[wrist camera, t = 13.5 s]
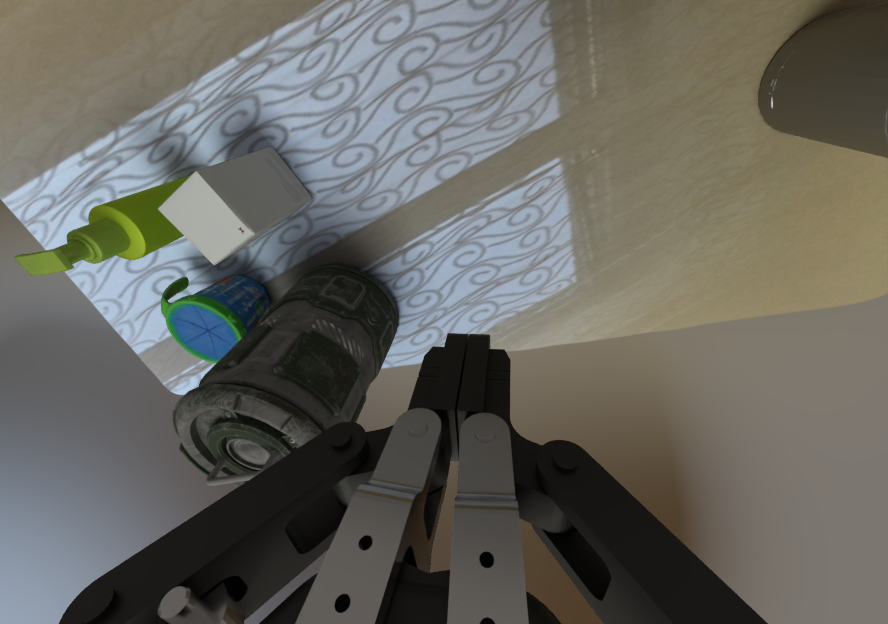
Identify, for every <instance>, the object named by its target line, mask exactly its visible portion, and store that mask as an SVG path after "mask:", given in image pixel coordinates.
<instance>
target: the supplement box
mask: <svg viewBox="0 0 888 624" xmlns="http://www.w3.org/2000/svg"><path fill="white" fill-rule="evenodd" d="M311 199H312V197H311V196H310V194H309V193H308V192H307V190H306V189H305V188H304V186H303V185H302V184H301V183H300V181H299V180H298V179H297V177H296V176H295V175H294V174H293V172H292V171H291V170H290V168H289V167H288V166H287V165H286V163H285V162H284V161H283V159H282V158H281V157H280V156H279V154H278V153H277V152H276V151H275V149H274V148H273V147H267V148H264V149H261V150H258V151H255V152H252V153H249V154H246V155H243V156H240V157H237V158H234V159H231V160H228V161H225V162H222V163H219V164H216V165H213V166H210V167H206V168H203V169H200V170H197V171H195V172H194V173H193V174H192V175H191V176H190V177H189V178H188V179H187V180H186V181H185V182H184V183H183V184H182V185H181V186H180V187H179V188H178V189H177V190H176V191H175V192H174V193H173V194H172V195H171V196H170V197H169V198H168V199H167V200H166V201H165V202H164V203H163V204H162V205H161V206H160V207H159V208H158V210H159V211H160V212H161V213H162V214H163V215H164V216H165V217H166V218H167V219H168V220H169V221H170V222H171V223H172V224H173V225H174V226H175V227H176V228H177V229H178V230H179V231H180V232H181V233H182V234H183V235H184V236H185V237H186V238H187V239H188V240H189V241H190V242H191V243H192V244H193V245H194V246H195V247H196V248H197V249H198V250H199V251H200V252H201V253H202V254H203V255H204V256H205V257H206V258H207V259H208V260H209V261H210V262H211V263H212V264H213V265H216V264H218V263H219V262H221V261H223V260H224V259H226V258H228V257H229V256H231V255H232V254H234V253H235V252H237V251H238V250H240V249H241V248H243V247H244V246H246V245H247V244H249V243H250V242H252V241H253V240H255V239H256V238H258V237H259V236H261V235H262V234H264V233H265V232H267V231H268V230H270V229H271V228H273V227H275V226H276V225H278V224H279V223H281V222H282V221H284V220H285V219H287V218H288V217H289V216H291V215H292V214H293V213H295V212H296V211H297V210H298V209H300V208H301V207H302V206H303V205H305V204H306V203H307V202H308V201H310V200H311Z"/></svg>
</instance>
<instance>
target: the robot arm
mask: <svg viewBox="0 0 888 624" xmlns="http://www.w3.org/2000/svg"><path fill="white" fill-rule="evenodd" d="M759 108H760V112H761V115H762V117H763V118H764V120H765V122H766V123H767V124H768V125H770V126H771V127H772V128H773V129H775V130H778V131H780V132H783V133H787V134H791V135H795V136H799V137H804V138H807V139H811V140H815V141H819V142H824V143H828V144H832V145H836V146H840V147H844V148H848V149H853V150H857V151H861V152H865V153H869V154H873V155H878V156H882V157H886V158H888V2H887V3H880V4H874V5H869V6H863V7H857V8H851V9H846V10H841V11H838V12H834V13H831V14H827V15H825V16H823V17H821V18H819V19H817V20H815V21H813V22H811V23H810V24H808V25H807V26H806V27H804V28H803V29H801V30H800V31H798V32H797V33H796V34H795V35H794V36H793V37H792V38H791V39H789V40H788V41H787V42H786V43H785V44H784V46H783V47H782V48H781V49H780V50H779V51H778V53H777V54H776V55H775V57H774V58H773V60H772V61H771V63H770V64H769V66H768V68H767V70H766V72H765V74H764V77H763V79H762V82H761V86H760V90H759ZM450 461H459V463H458V482H457V496H456V498H455V502H454V516H453V533H452V551H451V567H450V570H446V571H439V572H433V573H430V569H431V558H432V548H433V542H434V538H435V534H436V530H437V526H438V521H439V517H440V513H441V509H442V504H443V501H444V496H445V492H446V488H447V477H448V473H449V466H450ZM519 518H521V519H523V520H525V521H527V522H529V523H531V524H532V526H533V528H534V530H535V532H536V533H537V535H538V536H539V537H540V539H541V540H542V541H543V543H544V544H545V545H546V547H547V548H548V549H549V551H550V552H551V553H552V555H553V556H554V557H555V559H556V560H557V561H558V563H559V564H560V565H561V567H562V568H563V570H564V571H565V572H566V573H567V575H568V576H569V577H570V579H571V580H572V582H573V583H574V584H575V586H576V587H577V588H578V590H579V591H580V592H581V594H582V595H583V596H584V598H585V599H586V600H587V602H588V603H589V604H590V606H591V607H592V608H593V610H594V611H595V612H596V614H597V615H598V616H599V618H600V619H601V620H602V622H603V623H604V624H768V623H766V622H765V621H764V620H763V619H762V618H761V617H760V616H759V615H758V614H757V613H756V612H755V611H754V610H753V609H752V608H751V607H750V606H749V605H747V604H746V603H745V602H744V601H743V600H742V599H741V598H740V597H739V596H738V595H737V594H736V593H735V592H734V591H732V589H731V588H729V587H728V586H727V585H726V584H725V583H724V582H723V581H722V580H721V579H720V578H719V577H718V576H717V575H716V574H715V573H714V572H713V571H712V570H710V569H709V568H708V567H707V566H706V565H705V564H704V563H703V562H702V561H701V560H700V559H699V558H698V557H697V556H696V555H695V554H694V553H692V552H691V551H690V550H689V549H688V548H687V547H686V546H685V545H684V544H683V543H682V542H681V541H680V540H679V539H678V538H677V537H676V536H674V534H672V533H671V532H670V531H669V530H668V529H667V528H666V527H665V526H664V525H663V524H662V523H661V522H659V520H657V518H656V517H655V516H653V515H652V514H651V513H650V512H649V511H648V510H647V509H646V508H645V507H644V506H643V505H642V504H641V503H640V502H639V501H638V500H637V499H636V498H634V497H633V496H632V495H631V494H630V493H629V492H628V491H627V490H626V489H625V488H624V487H623V486H622V485H621V484H620V483H618V481H616V480H615V479H614V478H613V477H612V476H611V475H610V474H609V473H608V472H607V471H606V470H605V469H604V468H603V467H602V466H601V465H600V464H599V463H597V462H596V461H595V460H594V459H593V458H592V457H591V456H590V455H589V454H588V453H587V452H586V451H585V450H584V449H582V448H581V447H580V446H578V445H576V444H574V443H572V442H569V441H565V440H554V441H550V442H548V443H546V444H544V445H543V446H542V445H539V444H537V443H534V442H531V441H529V440H527V439H525V438H523V437H522V436H520V435H519V434H518V433H517V432H516V431H515V429H514V428H513V426H512V424H511V421H510V359H509V357H508V355H507V353H506V352H505V350H501V349H490V335H484V334H470V335H468V334H455V333H448V335H447V338H446V343H445V347H432V348H431V349H430V350H429V352H428V353H427V354H426V355H425V356H424V359H423V362H422V366H421V369H420V372H419V377H418V379H417V382H416V385H415V389H414V392H413V395H412V398H411V401H410V405H409V408H408V410H407V412H405V413H403V414H402V415H401V416H399V418H398V419H397V420H396V422H395V424H394V425H393V426H390V427H388V428H385V429H380V430H375V431H370V432H365V430H364V428H363V427H362V426H361V425H359V424H357V423H354V422H341V423H338V424H335V425H333V426H331V427H330V428H328V429H327V430H325V431H324V432H322V433H320V434H319V435H317V436H316V437H314V438H313V439H311V440H310V441H308V442H307V443H305V444H304V445H302V446H301V447H299V448H297V449H296V450H294V451H293V452H291V453H290V454H288V455H287V456H285V457H284V458H282V459H281V460H279V461H278V462H276V463H274V464H273V465H271V466H270V467H268V468H267V469H265V470H264V471H262V472H261V473H259V474H258V475H256V476H255V477H253V478H251V479H250V480H248V481H247V482H245V483H244V484H242V485H241V486H239V487H238V488H236V489H235V490H233V491H232V492H230V493H228V494H227V495H225V496H224V497H222V498H221V499H220V500H218V501H216V502H215V503H213V504H212V505H210V506H209V507H207V508H205V509H204V510H203V511H201V512H200V513H198V514H196V515H195V516H193V517H192V518H190V519H189V520H187V521H186V522H184V523H182V524H181V525H180V526H178V527H176V528H175V529H173V530H172V531H170V532H169V533H167V534H166V535H164V536H163V537H161V538H160V539H158V540H157V541H155V542H153V543H152V544H150V545H149V546H147V547H146V548H144V549H143V550H141V551H140V552H138V553H137V554H135V555H133V556H132V557H130V558H129V559H127V560H126V561H124V562H123V563H121V564H120V565H118V566H117V567H115V568H114V569H112V570H110V571H109V572H107V573H106V574H104V575H103V576H101V577H100V578H98V579H97V580H95V581H94V582H92V583H91V584H90V585H89V586H88V587H86V588H85V589H84V590H83V591H82V592H81V593H80V594H79V595H78V596H77V597H76V598H75V599H74V601H73V602H72V603H71V604H70V605H69V607H68V608H67V610H66V612H65V613H64V614H63V616H62V619H61V620H60V622H59V624H244V620H245V619H247V618H248V617H249V616H250V615H251V614H253V613H254V612H255V611H256V610H257V609H258V608H260V607H261V606H262V605H263V604H264V603H265V602H267V601H268V600H269V599H270V598H271V597H272V596H274V595H275V594H276V593H277V592H278V591H280V590H281V589H282V588H283V587H284V586H285V585H287V584H288V583H289V582H290V581H291V580H293V579H294V578H295V577H296V576H297V575H298V574H300V573H301V572H302V571H303V570H304V569H305V568H307V567H308V566H309V565H310V564H311V563H312V562H314V561H315V560H316V559H317V558H318V557H319V556H321V555H322V554H323V553H324V552H325V551H327V550H328V549H329V550H328V552H327V554H326V557H325V559H324V561H323V563H322V565H321V568H320V570H319V572H318V573H317V574H316V575H314V576H312V577H311V578H310V579H308V580H307V581H306V582H304V583H303V584H302V585H301V586H300V587H299V588H297V589H296V590H295V591H294V592H293V593H292V594H291V595H290V596H289V597H288V598H286V600H284V601H283V602H282V603H281V604H280V605H279V606H278V607H277V608H276V609H275V610H273V611H272V612H271V613H270V614H269V615H268V616H267V617H266V618H265V619H264V620H263V621H261V622H260V623H259V624H561V623H560V622H559V620H558V619H557V618H556V616H555V615H554V614H553V613H552V612H551V611H550V610H549V609H548V608H547V607H546V606H545V605H544V604H543V603H541V602H540V601H539V600H538V599H537V598H536V597H534V596H533V595H531V594H530V593H528V592H527V591H526V587H525V576H524V564H523V553H522V542H521V531H520V521H519V520H520V519H519Z"/></svg>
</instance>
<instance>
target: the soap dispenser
mask: <svg viewBox="0 0 888 624" xmlns="http://www.w3.org/2000/svg"><path fill="white" fill-rule="evenodd" d="M190 176H191V175H189V176H186V177H183V178H180V179H177V180H174V181H171V182H168V183H165V184H162V185H159V186H156V187H153V188H150V189H147V190H144V191H141V192H138V193H135V194H132V195H129V196H126V197H123V198H120V199H117V200H114V201H111V202H108V203H105V204H102V205H99V206H96V207H94V208H93V209H91V211H90V213H89V225H86V226H83V227H81V228H78V229H75V230H73V231H71V232H69V233H68V234H67V242H68V244H65V245H63V246H60V247H58V248H55V249H52V250H47V251H42V252H37V253H31V254H23V255H18V256H15V257H14V258H15V259H16V260H17V261H18V262H19V264H20V265H21V266H22V267H23V268H24V269H25V270H26V271H27V272H28V274H29V275H44V274H51V273H56V272H62V271H67V270H70V269H72V268H74V267H73V265H72V264H74V263H76V262H78V261H81V260H85V261H87V262H89V263H100V262H102V261H104V260H106V259H109V258H111V257H113V256H115V255H117V256H119V257H121V258H124V259H129V260H136V259H139V258H141V257H143V256H145V255H147V254H149V253H151V252H153V251H155V250H157V249H159V248H161V247H163V246H165V245H167V244H169V243H171V242H173V241H175V240H177V239H179V238H181V237H183V236H184V235H183V234H182V233H181V232H180V231H179V230H178V229H177V228H176V227H175V226H174V225H173V224H172V223H171V222H170V221H169V220H168V219H167V218H166V217H165V216H164V215H163V214H162V213H161V212H160V211H159V210H158V208H159V207H160V206H161V205H162V204H163V203H164V202H165V201H166V200H167V199H168V198H169V197H170V196H171V195H172V194H173V193H174V192H175V191H176V190H177V189H178V188H179V187H180V186H181V185H182V184H183V183H184V182H185V181H186V180H187V179H188V178H189V177H190Z"/></svg>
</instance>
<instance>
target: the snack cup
mask: <svg viewBox="0 0 888 624" xmlns="http://www.w3.org/2000/svg"><path fill="white" fill-rule="evenodd" d="M188 283H189V280H188V278H187V277H183V278H180V279H178V280H176V281H175V282H173V283H172V284H171V285H169V286H168V287H167V288H166V290H165V291H164V293H163V295H162V299H161V310H162V313H163V315H164V316H165V318H166V324H167V327H168V329H169V331H170V333H171V335H172V336H173V337H174V339H175V340H176V341H177V342H178V343H179V344H180V345H181V346H182V347H183V348H184V349H186V350H187V351H188V352H189V353H191V354H193V355H194V356H196V357H198V358H200V359H203V360H205V361H209V362H212V363H218V362H219V361H220V360H221V359H222V358H223V357H224V356H225V355H226V354H227V353H228V352H229V351H230V350H231V349H232V348H233V347H234V346H235V345H236V344H237V343H238V342H239V341H240V340H241V339H242V338H243V337H244V336H245V335H246V334H247V333H248V332H249V331H250V330H252V329H253V328H255V327H258V326H259V324H260V322H261V320H262V317H263V316H264V315H265V314H266V313H267V312H268V311H269V309H270V302H269V297H268V295H267V293H266V292H265V289H264V288H263V286H262V285H259V284H258V283H257V282H256V281H254V280H252V279H250V278H247V277H244V276H242V275H236V276H231V277H228V278H226V279H223V280H221V281H219V282H217V283H215V284H213V285H212V286H209V287H207V288H205V289H203V290H201V291H199V292H197V293H196V294H194V295H188V296H185V297H182V298H180V299H178V300H177V301H175V302H174V303H169V302H168V301H167V300H169V299H170V298H171V297H173V296H174V295H176V294H177V293H179V292H181V291H183V290H184V289H186V288H187V287H188Z"/></svg>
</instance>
